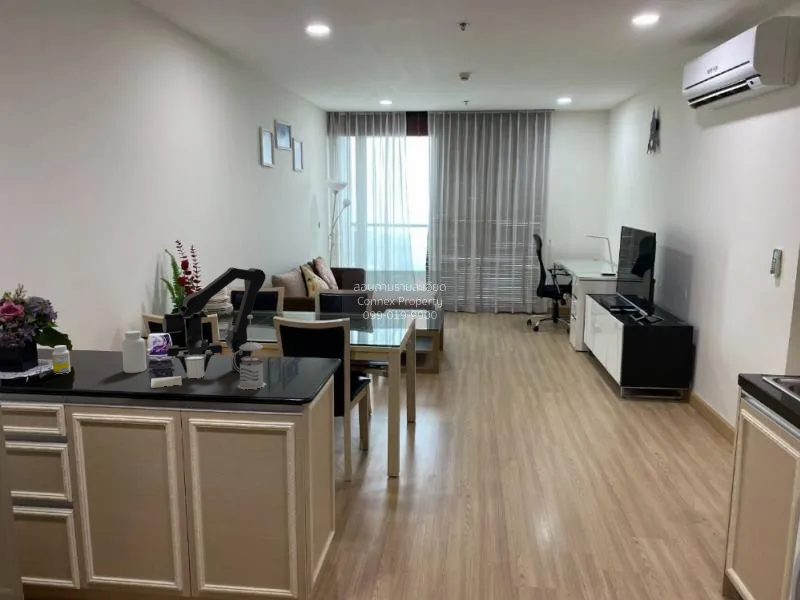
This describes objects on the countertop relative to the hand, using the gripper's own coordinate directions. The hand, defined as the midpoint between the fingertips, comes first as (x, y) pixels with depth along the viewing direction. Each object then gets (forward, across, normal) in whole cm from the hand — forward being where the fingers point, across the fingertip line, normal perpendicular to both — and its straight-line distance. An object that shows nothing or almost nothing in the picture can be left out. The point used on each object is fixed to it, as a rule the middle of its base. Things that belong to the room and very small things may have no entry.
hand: (195, 372), depth 221 cm
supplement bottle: (+2, -46, +21) cm, 51 cm away
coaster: (+2, -10, -5) cm, 11 cm away
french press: (+2, +17, -18) cm, 25 cm away
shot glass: (+2, 0, 0) cm, 2 cm away
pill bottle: (+2, -21, +16) cm, 26 cm away
